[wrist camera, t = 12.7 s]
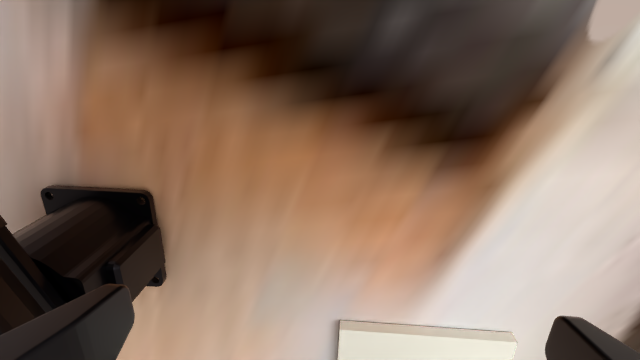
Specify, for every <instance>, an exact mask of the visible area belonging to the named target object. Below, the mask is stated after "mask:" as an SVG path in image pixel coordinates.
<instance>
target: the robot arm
mask: <svg viewBox="0 0 640 360" xmlns="http://www.w3.org/2000/svg"><path fill="white" fill-rule="evenodd" d="M51 193H52V194H53V196H54V197H53V196H52V195H51ZM41 197H42V200H43V204H44V207H45V210H46V214H47V215H45V216H44V217H42V218H40V219H38V220H37V221H35V222H33V223H31V224H30V225H28V226H26V227H24V228H22V229H21V230H19V231H17V232H15V233H14V234H11V232H10V231H9V230H8V229H7V227H6V226H5V225H7V223H6V222H5V220H4V219H3V218H2V217H1V215H0V360H116V358H117V356H118V354H119V352H120V350H121V348H122V346H123V344H124V342H125V340H126V338H127V336H128V334H129V332H130V330H131V328H132V326H133V323H134V316H135V315H134V309H133V305H132V302H133V301H134V299H135V298H136V297H137V296H138V295H139V293H140V292H141V291H142V290H143V289H144V287H145V286H155V287H157V286H161V285H162V284H163V283H164V281H165V280H166V273H165V267H164V263H165V257H164V251H163V245H162V239H161V233H160V228H159V227H158V225H157V219H156V213H155V207H154V201H153V197H152V195H151V194H150V193H149V192H148V191H145V190H131V189H112V188H92V187H73V186H54V185H52V186H48V187H46V188H44V189H43V190H42V191H41ZM140 197H143V198H144V199H145V202H144V201H142V200H141V198H140ZM155 277H157V278H158V279H157V278H155ZM545 354H546V358H547V360H640V353H638V352H637V351H635V350H633V349H632V348H630V347H629V346H627V345H625V344H624V343H622V342H620V341H619V340H617V339H616V338H614V337H612V336H611V335H609V334H607V333H606V332H604V331H602V330H601V329H599V328H598V327H596V326H594V325H593V324H591V323H589V322H588V321H586V320H584V319H583V318H580V317H572V316H558V317H557V318H556V319H555V320H554V323H553V325H552V328H551V331H550V334H549V337H548V340H547V342H546V346H545Z"/></svg>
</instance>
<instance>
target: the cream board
mask: <svg viewBox="0 0 640 360" xmlns="http://www.w3.org/2000/svg"><path fill="white" fill-rule="evenodd" d="M517 344H518V342H517V340H516V339H515V337H514V335H513V333H511V332H497V331H483V330H469V329H455V328H441V327H427V326H413V325H398V324H384V323H370V322H356V321H342V320H340V328H339V345H338V360H513V357H514V353H515V350H516V347H517Z"/></svg>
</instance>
